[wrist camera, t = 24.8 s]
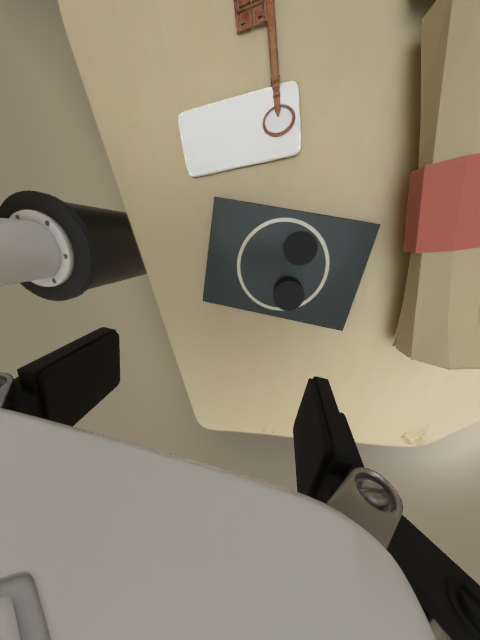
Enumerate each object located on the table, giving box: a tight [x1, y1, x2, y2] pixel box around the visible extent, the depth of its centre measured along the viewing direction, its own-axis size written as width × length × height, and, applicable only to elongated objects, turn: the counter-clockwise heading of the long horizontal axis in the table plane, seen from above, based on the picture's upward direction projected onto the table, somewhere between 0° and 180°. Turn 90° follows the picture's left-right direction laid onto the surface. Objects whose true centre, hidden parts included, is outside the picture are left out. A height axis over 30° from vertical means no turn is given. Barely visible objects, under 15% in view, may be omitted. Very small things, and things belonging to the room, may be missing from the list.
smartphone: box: [178, 81, 301, 177], centre depth 29 cm, size 7×1×15 cm
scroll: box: [393, 0, 480, 369], centre depth 24 cm, size 11×34×10 cm, turn 7°
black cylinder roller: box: [273, 276, 304, 311], centre depth 32 cm, size 4×4×4 cm
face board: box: [203, 197, 380, 331], centre depth 33 cm, size 22×15×1 cm
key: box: [234, 0, 295, 137], centre depth 26 cm, size 6×1×15 cm
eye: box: [283, 231, 318, 265], centre depth 30 cm, size 4×4×4 cm
